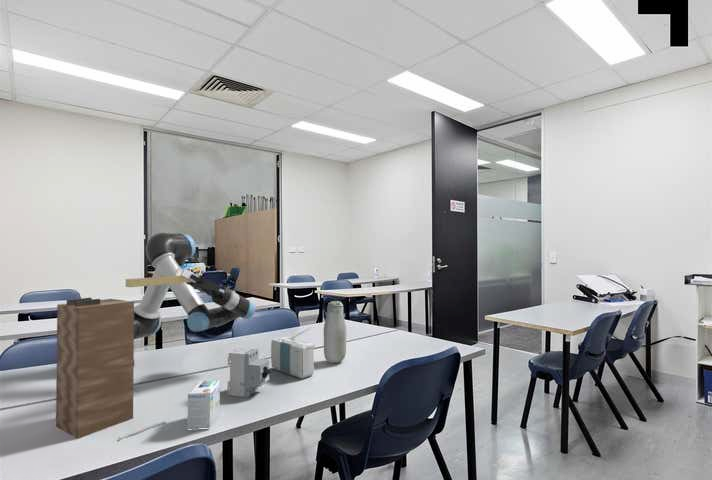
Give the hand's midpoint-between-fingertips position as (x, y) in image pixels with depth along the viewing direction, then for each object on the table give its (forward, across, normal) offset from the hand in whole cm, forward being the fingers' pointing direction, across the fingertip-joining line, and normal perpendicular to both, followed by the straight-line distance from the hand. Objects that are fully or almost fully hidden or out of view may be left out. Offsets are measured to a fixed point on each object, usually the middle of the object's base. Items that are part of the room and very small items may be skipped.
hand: (179, 271), depth 141 cm
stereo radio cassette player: (-56, +20, +19) cm, 62 cm away
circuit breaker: (-34, +22, +31) cm, 51 cm away
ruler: (-2, +18, +50) cm, 53 cm away
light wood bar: (+3, 0, +6) cm, 7 cm away
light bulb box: (-13, +28, +43) cm, 53 cm away
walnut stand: (+2, 0, +52) cm, 52 cm away
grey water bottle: (-74, +27, +8) cm, 79 cm away
